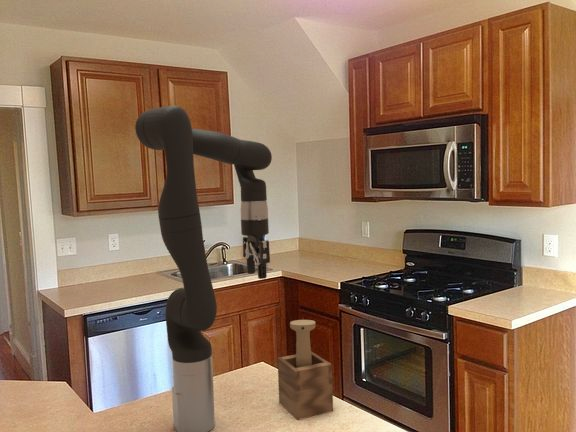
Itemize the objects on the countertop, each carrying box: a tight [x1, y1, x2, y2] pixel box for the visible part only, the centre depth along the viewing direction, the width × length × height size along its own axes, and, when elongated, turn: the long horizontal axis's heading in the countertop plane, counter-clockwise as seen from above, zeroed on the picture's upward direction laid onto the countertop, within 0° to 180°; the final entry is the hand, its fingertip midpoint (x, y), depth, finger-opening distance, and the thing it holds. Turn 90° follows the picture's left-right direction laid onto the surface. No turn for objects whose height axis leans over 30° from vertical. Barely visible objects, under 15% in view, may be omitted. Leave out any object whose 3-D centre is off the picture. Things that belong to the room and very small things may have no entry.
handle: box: [289, 319, 316, 368], centre depth 129 cm, size 5×6×15 cm
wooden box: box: [277, 350, 334, 420], centre depth 130 cm, size 10×11×12 cm
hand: (256, 275), depth 140 cm, fingers open, 8 cm apart
